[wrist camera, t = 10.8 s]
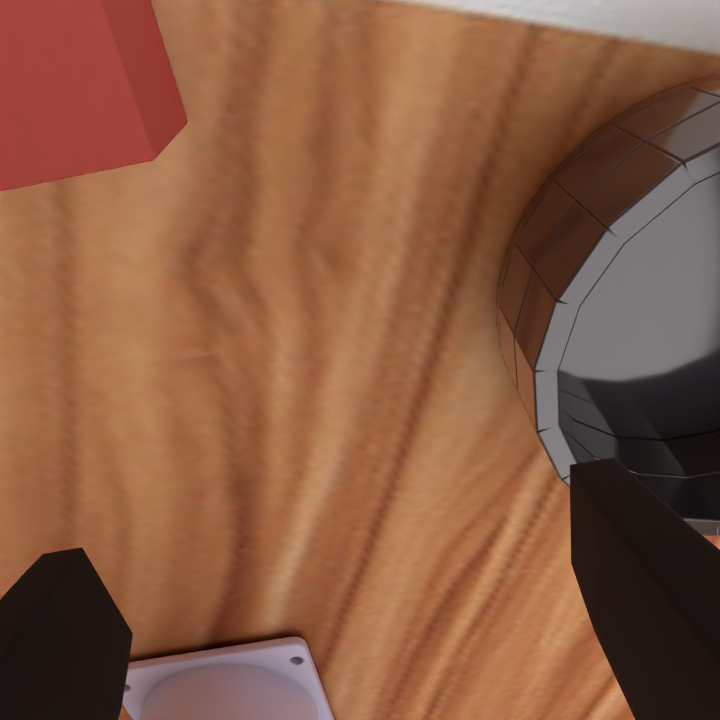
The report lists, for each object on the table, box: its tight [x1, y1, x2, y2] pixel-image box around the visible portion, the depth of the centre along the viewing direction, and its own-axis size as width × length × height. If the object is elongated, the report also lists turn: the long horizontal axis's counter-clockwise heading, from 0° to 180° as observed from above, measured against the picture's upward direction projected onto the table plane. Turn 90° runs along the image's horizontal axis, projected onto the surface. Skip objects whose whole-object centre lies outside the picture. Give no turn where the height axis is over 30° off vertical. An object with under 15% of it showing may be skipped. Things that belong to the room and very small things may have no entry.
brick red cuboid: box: [0, 0, 187, 191], centre depth 13 cm, size 4×3×4 cm
